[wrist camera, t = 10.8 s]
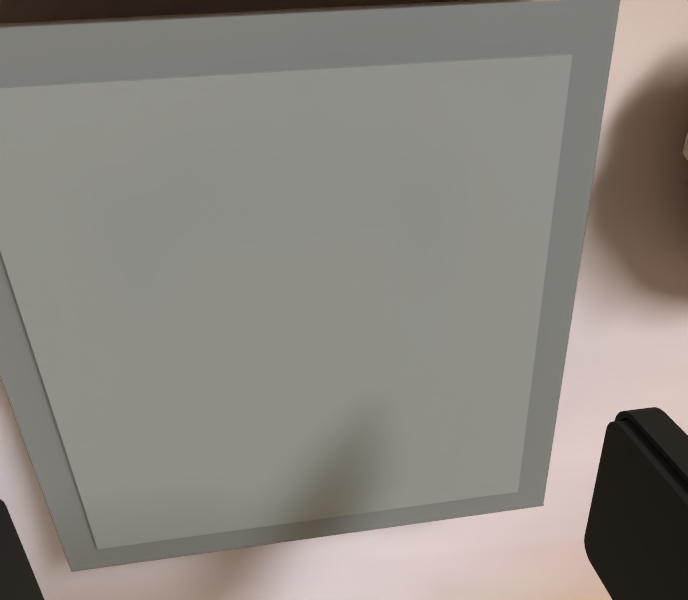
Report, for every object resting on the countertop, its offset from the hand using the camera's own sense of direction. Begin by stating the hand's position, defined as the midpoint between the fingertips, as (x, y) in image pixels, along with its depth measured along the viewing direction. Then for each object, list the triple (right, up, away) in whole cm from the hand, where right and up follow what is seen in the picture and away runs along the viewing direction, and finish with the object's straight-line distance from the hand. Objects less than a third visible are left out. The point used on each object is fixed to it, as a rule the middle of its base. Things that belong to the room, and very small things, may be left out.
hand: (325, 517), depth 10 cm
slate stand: (-1, +4, +8) cm, 9 cm away
